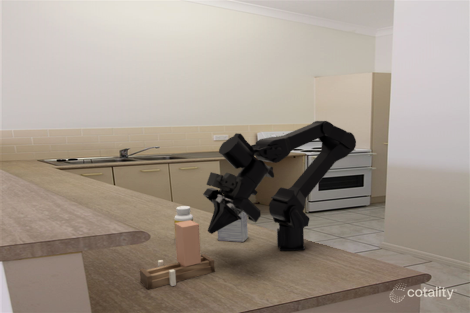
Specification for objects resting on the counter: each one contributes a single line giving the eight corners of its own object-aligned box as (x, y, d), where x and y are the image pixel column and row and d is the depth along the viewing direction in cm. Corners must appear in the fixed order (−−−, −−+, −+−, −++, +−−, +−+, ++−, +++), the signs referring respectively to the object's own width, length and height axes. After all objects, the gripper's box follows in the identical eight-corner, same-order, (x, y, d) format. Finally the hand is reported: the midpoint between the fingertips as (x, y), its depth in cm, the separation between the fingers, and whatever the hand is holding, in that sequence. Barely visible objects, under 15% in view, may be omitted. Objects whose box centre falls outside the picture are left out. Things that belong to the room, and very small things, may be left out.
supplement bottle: (190, 243, 115) (189, 209, 114) (172, 243, 116) (170, 209, 115) (196, 237, 121) (194, 205, 120) (179, 237, 122) (177, 205, 121)
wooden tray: (204, 264, 99) (204, 253, 99) (215, 272, 94) (214, 260, 94) (140, 281, 91) (139, 269, 91) (148, 289, 86) (147, 277, 86)
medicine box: (248, 237, 119) (247, 208, 118) (243, 242, 115) (242, 212, 114) (222, 236, 121) (221, 207, 120) (217, 240, 117) (216, 211, 116)
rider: (192, 261, 97) (190, 220, 96) (201, 267, 93) (198, 224, 92) (177, 265, 95) (174, 223, 94) (184, 271, 91) (182, 227, 90)
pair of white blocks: (162, 273, 95) (161, 259, 95) (176, 285, 88) (175, 270, 88) (158, 274, 94) (157, 260, 94) (171, 286, 88) (170, 271, 87)
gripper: (208, 156, 105) (170, 205, 100) (247, 163, 89) (204, 221, 84) (235, 183, 110) (200, 230, 105) (277, 193, 94) (238, 250, 89)
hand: (209, 232), depth 96 cm, fingers closed
